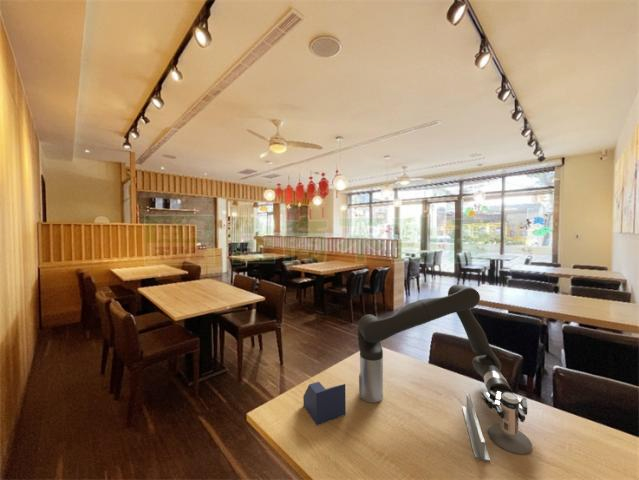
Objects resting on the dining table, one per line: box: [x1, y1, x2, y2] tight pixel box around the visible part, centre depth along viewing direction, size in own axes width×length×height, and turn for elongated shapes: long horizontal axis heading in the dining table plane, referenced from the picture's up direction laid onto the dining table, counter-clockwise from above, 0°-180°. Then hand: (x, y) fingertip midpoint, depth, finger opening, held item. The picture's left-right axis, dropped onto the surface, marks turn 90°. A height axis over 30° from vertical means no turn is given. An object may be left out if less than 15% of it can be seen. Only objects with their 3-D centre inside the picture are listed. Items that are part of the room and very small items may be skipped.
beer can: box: [499, 392, 520, 435], centre depth 90 cm, size 5×5×12 cm
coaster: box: [486, 423, 533, 455], centre depth 90 cm, size 12×12×1 cm
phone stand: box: [302, 381, 347, 426], centre depth 105 cm, size 12×12×12 cm
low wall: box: [461, 393, 491, 464], centre depth 93 cm, size 4×24×6 cm, turn 161°
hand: (512, 417), depth 87 cm, fingers closed on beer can, 4 cm apart
